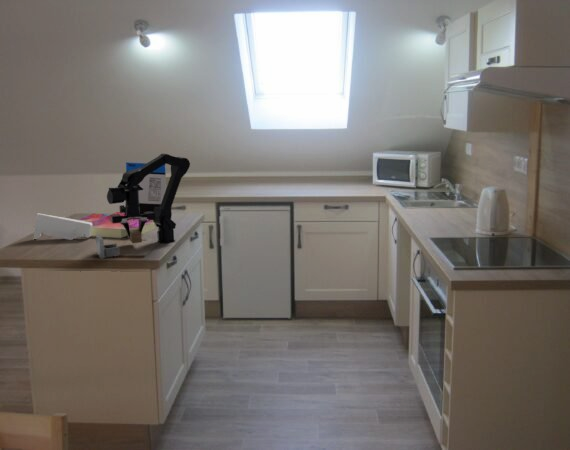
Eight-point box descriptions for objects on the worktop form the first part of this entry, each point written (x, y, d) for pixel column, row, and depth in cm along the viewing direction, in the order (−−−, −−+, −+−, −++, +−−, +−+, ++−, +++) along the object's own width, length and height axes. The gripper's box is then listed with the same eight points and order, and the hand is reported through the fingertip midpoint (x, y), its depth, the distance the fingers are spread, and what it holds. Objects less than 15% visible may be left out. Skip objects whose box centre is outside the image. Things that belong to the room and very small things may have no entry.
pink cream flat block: (61, 235, 299) (59, 214, 297) (90, 224, 323) (89, 205, 321) (133, 239, 289) (131, 218, 287) (158, 228, 313) (157, 208, 311)
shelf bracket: (36, 238, 292) (39, 212, 290) (89, 248, 294) (93, 222, 292) (31, 241, 287) (35, 214, 285) (86, 251, 289) (90, 224, 286)
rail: (127, 236, 280) (126, 227, 279) (136, 235, 281) (136, 226, 280) (132, 243, 267) (131, 234, 266) (141, 242, 269) (141, 233, 268)
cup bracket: (116, 251, 268) (114, 232, 266) (120, 256, 259) (119, 237, 257) (96, 253, 264) (95, 234, 263) (100, 258, 255) (99, 239, 254)
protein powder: (162, 223, 324) (159, 165, 317) (123, 219, 333) (120, 163, 326) (172, 219, 332) (170, 163, 326) (134, 216, 341) (131, 161, 335)
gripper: (149, 196, 282) (151, 230, 285) (106, 200, 274) (109, 235, 277) (155, 200, 272) (157, 235, 275) (111, 204, 264) (113, 240, 267)
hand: (134, 236), depth 274 cm, fingers closed on rail, 4 cm apart
